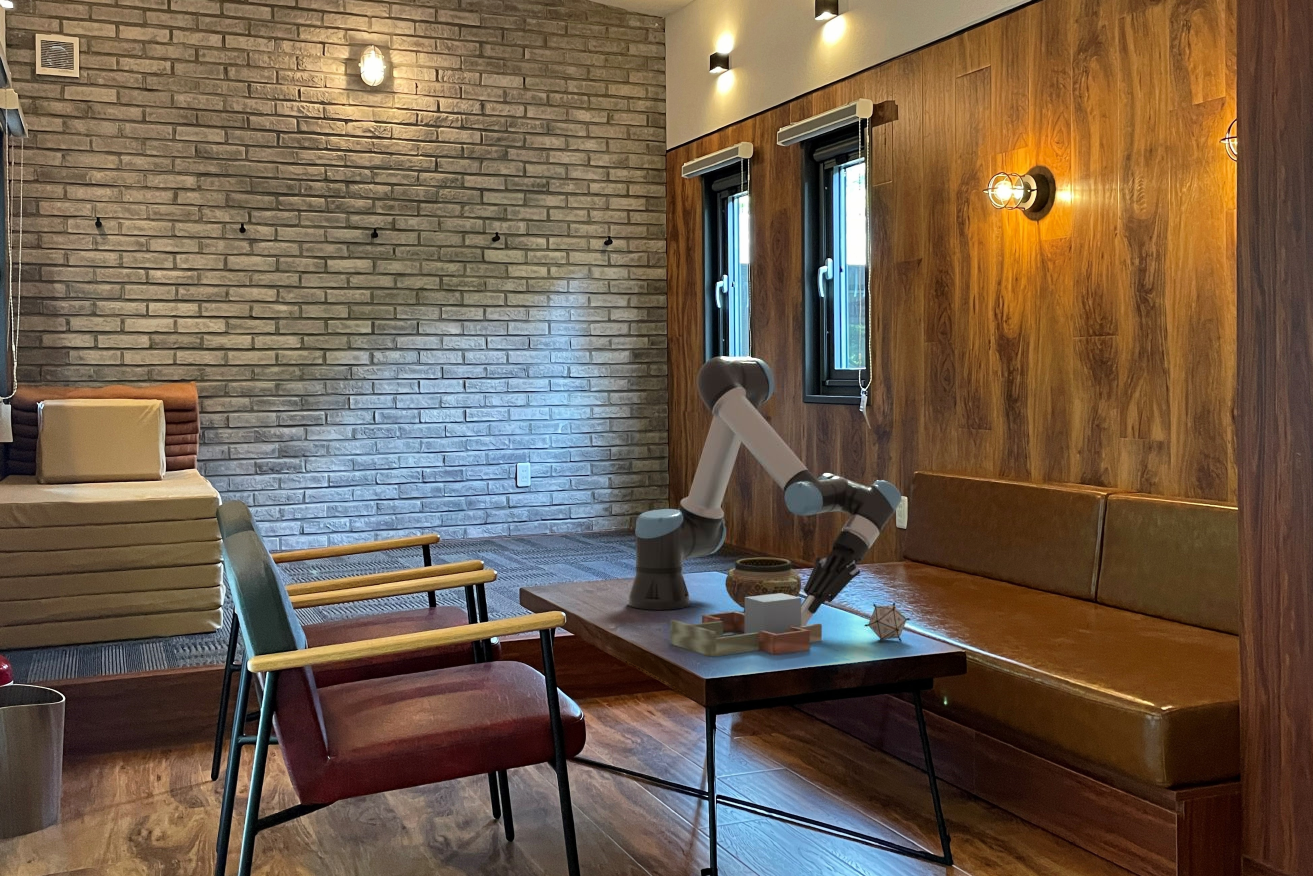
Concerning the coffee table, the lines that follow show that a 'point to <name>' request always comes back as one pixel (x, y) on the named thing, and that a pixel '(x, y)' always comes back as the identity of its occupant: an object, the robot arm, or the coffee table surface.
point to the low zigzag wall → (739, 636)
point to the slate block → (772, 613)
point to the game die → (887, 622)
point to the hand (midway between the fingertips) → (798, 622)
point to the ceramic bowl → (761, 578)
